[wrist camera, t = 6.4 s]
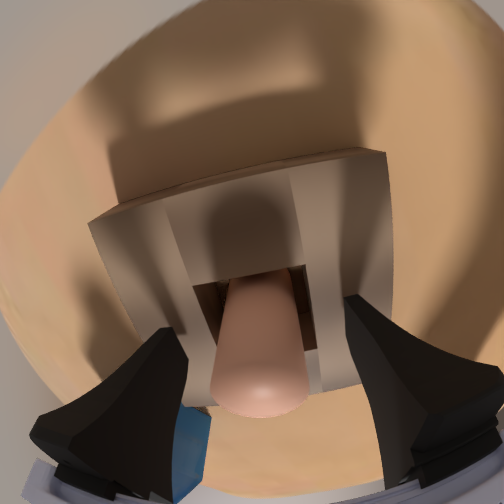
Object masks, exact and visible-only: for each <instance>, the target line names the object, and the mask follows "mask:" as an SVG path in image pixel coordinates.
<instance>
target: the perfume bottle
mask: <svg viewBox="0 0 504 504" xmlns="http://www.w3.org/2000/svg"><path fill="white" fill-rule="evenodd" d="M210 424H211V417H209V416H208V415H206V414H204V413H202V412H200V411H198V410H197V409H195V408H193V407H185V406H184V405H183V404H182V402H181V404H180V408H179V412H178V416H177V420H176V425H175V432H174V441H173V453H172V493H173V504H177V503H178V502H180V501H181V500H182V499H183V498H184V497H185V496H186V495H187V494H188V493H190V492H191V491H192V490H193V489H194V488H195V487H196V486H197V485H198V484H199V483H200V482H201V481H202V478H203V471H204V464H205V457H206V451H207V444H208V437H209V431H210Z"/></svg>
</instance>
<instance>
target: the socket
mask: <svg viewBox="0 0 504 504" xmlns="http://www.w3.org/2000/svg"><path fill="white" fill-rule="evenodd" d="M88 226H89V229H90V231H91V234H92V237H93V239H94V242H95V244H96V247H97V249H98V252H99V254H100V256H101V259H102V261H103V263H104V266H105V268H106V270H107V272H108V275H109V277H110V279H111V281H112V283H113V285H114V288H115V290H116V292H117V294H118V296H119V298H120V300H121V302H122V304H123V306H124V308H125V310H126V312H127V314H128V316H129V317H130V319H131V321H132V323H133V325H134V327H135V329H136V330H137V332H138V334H139V336H140V337H141V339H142V341H143V343H145V342H146V341H147V340H148V339H149V338H150V337H151V336H152V335H153V334H154V333H155V332H156V331H157V330H158V329H159V328H164V327H173V329H174V331H175V333H176V335H177V337H178V339H179V341H180V343H181V345H182V347H183V349H184V351H185V353H186V355H187V357H188V359H189V364H188V374H187V381H186V385H185V389H184V393H183V397H182V401H181V402H182V404H183V405H184V406H185V407H202V406H220V405H218V404H217V403H216V402H215V400H214V399H213V397H212V396H211V393H210V382H211V377H212V371H213V366H214V360H215V355H216V350H217V344H218V339H219V334H220V329H221V323H222V318H223V313H224V309H223V306H222V303H221V300H220V298H219V295H218V292H217V289H216V286H215V283H214V282H216V281H221V280H227V279H232V278H237V277H243V276H248V275H253V274H258V273H263V272H269V271H274V270H279V269H284V268H289V267H294V266H299V265H302V269H303V275H304V281H305V287H306V294H307V300H308V306H309V312H307V313H302V314H298V319H299V325H300V330H301V336H302V342H303V348H304V354H305V360H306V367H307V373H308V379H309V386H310V390H309V394H308V395H312V394H317V393H322V392H327V391H332V390H337V389H341V388H345V387H350V386H354V385H358V384H362V382H361V379H360V377H359V374H358V372H357V369H356V367H355V364H354V362H353V359H352V357H351V354H350V350H349V347H348V343H347V339H346V335H345V316H344V300H343V297H346V296H350V295H355V294H359V295H360V296H361V297H363V298H364V299H365V300H366V301H367V302H368V303H370V304H371V305H372V306H373V307H374V308H376V309H377V310H378V311H379V312H381V313H382V314H383V315H384V316H386V317H387V318H388V319H390V320H391V315H392V298H393V223H392V206H391V193H390V183H389V174H388V165H387V157H386V152H382V151H377V150H372V149H366V148H361V147H356V148H349V149H342V150H335V151H329V152H323V153H317V154H311V155H306V156H300V157H295V158H290V159H285V160H280V161H275V162H270V163H265V164H261V165H256V166H252V167H247V168H243V169H239V170H234V171H230V172H226V173H222V174H218V175H214V176H210V177H207V178H203V179H199V180H196V181H192V182H188V183H185V184H181V185H178V186H174V187H171V188H168V189H164V190H161V191H158V192H155V193H151V194H148V195H145V196H142V197H139V198H136V199H133V200H130V201H127V202H124V203H121V204H118V205H116V206H115V207H113V208H111V209H110V210H108V211H106V212H105V213H103V214H102V215H100V216H98V217H97V218H95V219H94V220H92V221H90V222H89V223H88Z"/></svg>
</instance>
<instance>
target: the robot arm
mask: <svg viewBox="0 0 504 504" xmlns="http://www.w3.org/2000/svg"><path fill="white" fill-rule="evenodd" d="M343 300H344V316H345V335H346V339H347V343H348V347H349V350H350V354H351V357H352V359H353V362H354V364H355V367H356V369H357V372H358V374H359V377H360V379H361V382H362V384H363V387H364V389H365V392H366V395H367V397H368V400H369V403H370V407H371V411H372V415H373V419H374V423H375V428H376V433H377V438H378V443H379V448H380V454H381V460H382V467H383V475H384V482H385V490H384V491H381V492H378V493H374V494H370V495H367V496H363V497H359V498H355V499H351V500H346V501H341V502H337V503H331V504H504V428H503V429H502V430H501V431H500V432H499V433H498V431H497V429H496V426H497V425H498V420H497V418H496V416H495V415H496V414H497V412H498V411H499V410H500V408H501V407H502V405H503V404H504V374H503V373H502V372H501V370H500V369H499V368H498V366H494V365H489V364H484V363H479V362H475V361H471V360H468V359H465V358H461V357H458V356H456V355H453V354H450V353H448V352H445V351H443V350H441V349H438V348H436V347H434V346H432V345H430V344H428V343H426V342H424V341H422V340H420V339H418V338H416V337H415V336H413V335H411V334H410V333H408V332H407V331H405V330H404V329H402V328H401V327H399V326H398V325H396V324H395V323H394V322H392V321H391V320H390V319H388V318H387V317H386V316H384V315H383V314H382V313H381V312H379V311H378V310H377V309H376V308H374V307H373V306H372V305H371V304H370V303H368V302H367V301H366V300H365V299H364V298H363V297H361V296H360V295H359V294H355V295H350V296H346V297H343ZM188 364H189V359H188V357H187V355H186V353H185V351H184V349H183V347H182V345H181V343H180V341H179V339H178V337H177V335H176V333H175V331H174V329H173V327H164V328H159V329H158V330H157V331H156V332H155V333H154V334H153V335H152V336H151V337H150V338H149V339H148V340H147V341H146V342H145V343H144V344H143V345H142V346H141V347H140V348H139V349H138V350H137V351H136V352H135V353H134V354H133V355H132V356H131V357H130V358H129V359H128V360H127V361H126V362H125V363H124V364H122V365H121V366H120V367H119V368H118V369H117V370H116V371H115V372H114V373H113V374H112V375H110V376H109V377H108V378H107V379H105V380H104V381H103V382H102V383H100V384H99V385H98V386H96V387H95V388H93V389H92V390H90V391H89V392H87V393H86V394H84V395H83V396H81V397H80V398H78V399H76V400H74V401H72V402H71V403H69V404H67V405H65V406H63V407H60V408H58V409H56V410H53V411H51V412H48V413H46V414H43V415H40V416H39V417H38V419H37V421H36V422H35V424H34V426H33V428H32V430H31V432H30V434H29V436H30V439H31V440H32V441H33V442H34V443H35V444H36V445H37V446H38V447H39V448H40V449H41V450H42V451H44V452H45V453H46V454H47V455H49V456H50V457H51V458H52V459H54V460H55V461H56V462H58V463H59V464H58V466H57V468H56V467H55V466H53V465H51V464H49V463H47V462H45V461H43V460H41V459H39V458H36V460H35V462H34V465H33V467H32V469H31V471H30V474H29V476H28V479H27V481H26V483H25V486H24V489H23V491H22V494H21V496H22V497H23V498H24V499H26V500H27V501H29V502H30V503H31V504H173V493H172V453H173V441H174V432H175V425H176V420H177V416H178V412H179V408H180V404H181V401H182V397H183V393H184V389H185V385H186V381H187V374H188Z"/></svg>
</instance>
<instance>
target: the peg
mask: <svg viewBox="0 0 504 504" xmlns="http://www.w3.org/2000/svg"><path fill="white" fill-rule="evenodd" d="M309 390H310V386H309V379H308V373H307V367H306V360H305V354H304V348H303V342H302V336H301V330H300V325H299V319H298V313H297V308H296V302H295V297H294V291H293V286H292V281H291V276H290V273H289V271H288V270H287V268H284V269H279V270H274V271H269V272H263V273H258V274H253V275H248V276H243V277H237V278H232V279H230V282H229V287H228V292H227V298H226V303H225V308H224V313H223V318H222V323H221V329H220V334H219V339H218V344H217V350H216V355H215V360H214V366H213V371H212V377H211V382H210V393H211V396H212V397H213V399H214V400H215V402H216V403H217V404H218V405H220V406H221V407H222V408H224V409H226V410H227V411H229V412H232V413H234V414H237V415H241V416H245V417H253V418H267V417H274V416H279V415H282V414H285V413H288V412H290V411H292V410H294V409H296V408H297V407H299V406H300V405H301V404H302V403H303V402H304V401H305V400H306V398H307V397H308V394H309Z"/></svg>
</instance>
